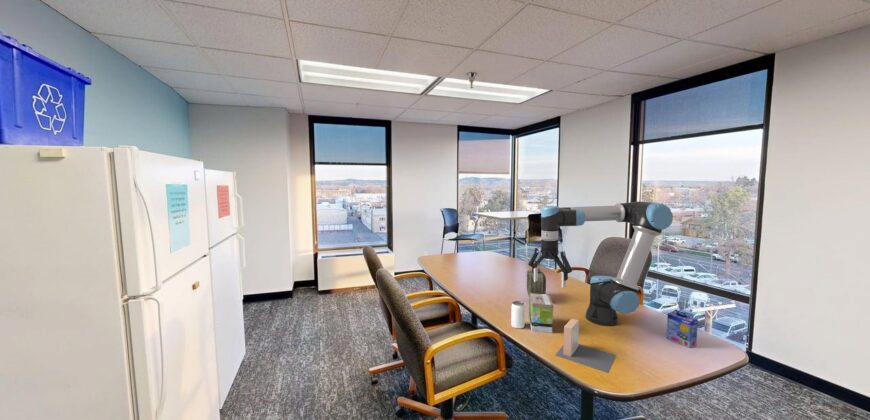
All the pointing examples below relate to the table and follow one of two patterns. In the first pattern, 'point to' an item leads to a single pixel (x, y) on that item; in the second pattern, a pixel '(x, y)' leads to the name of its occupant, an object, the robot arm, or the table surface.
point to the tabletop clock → (536, 283)
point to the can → (518, 315)
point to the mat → (590, 357)
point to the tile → (571, 337)
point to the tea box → (540, 313)
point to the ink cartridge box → (682, 329)
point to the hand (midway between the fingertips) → (549, 284)
